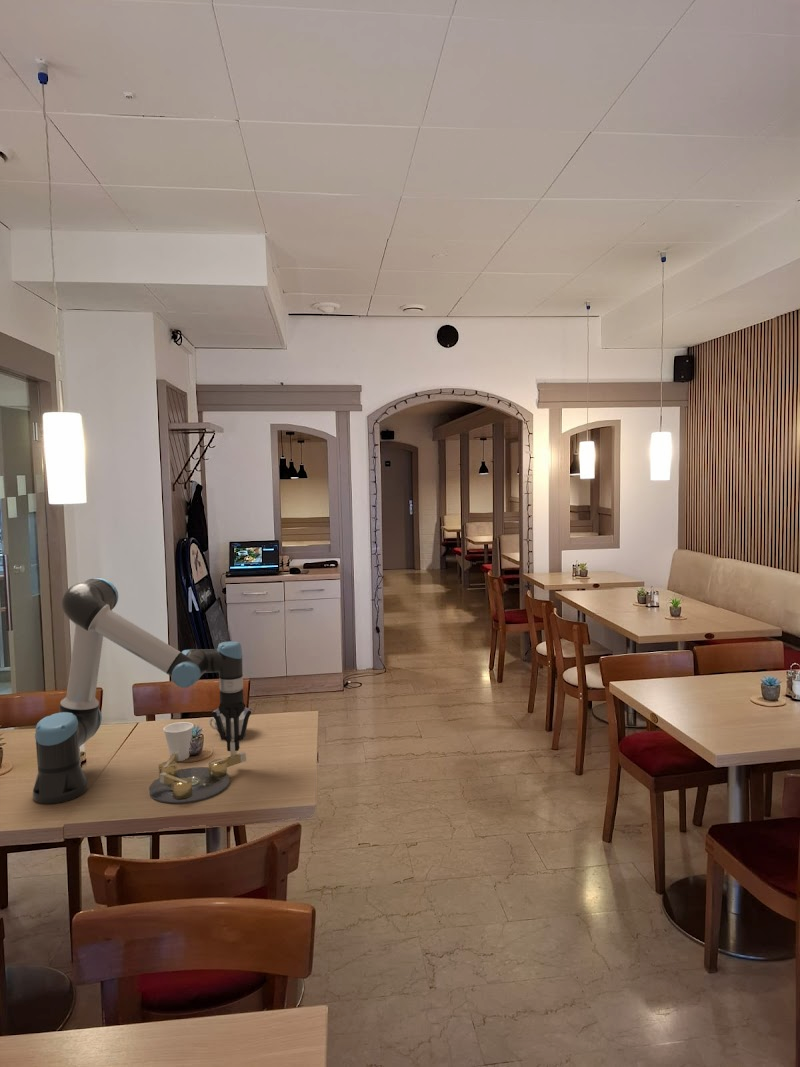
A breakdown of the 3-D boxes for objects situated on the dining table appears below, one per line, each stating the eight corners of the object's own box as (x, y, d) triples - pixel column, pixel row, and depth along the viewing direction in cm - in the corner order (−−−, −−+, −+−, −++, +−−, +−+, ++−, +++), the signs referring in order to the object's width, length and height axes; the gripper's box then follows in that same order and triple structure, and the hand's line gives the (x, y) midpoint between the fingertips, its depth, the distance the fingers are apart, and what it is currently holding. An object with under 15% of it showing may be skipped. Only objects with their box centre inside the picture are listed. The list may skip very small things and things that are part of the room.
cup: (186, 764, 236) (184, 732, 236) (159, 763, 238) (157, 731, 238) (200, 753, 246) (198, 722, 245) (174, 751, 248) (172, 721, 247)
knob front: (196, 793, 211) (195, 779, 211) (180, 800, 207) (179, 786, 206) (170, 783, 219) (169, 769, 219) (154, 790, 214) (153, 776, 214)
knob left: (175, 780, 221) (174, 766, 221) (156, 781, 221) (156, 767, 221) (185, 763, 234) (184, 750, 234) (168, 764, 234) (167, 751, 233)
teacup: (254, 731, 266) (254, 711, 265) (239, 744, 254) (238, 722, 253) (218, 729, 270) (217, 708, 269) (201, 741, 258) (200, 719, 257)
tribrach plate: (138, 805, 207) (138, 797, 207) (162, 771, 231) (161, 764, 231) (221, 801, 208) (220, 794, 208) (235, 768, 232) (235, 761, 232)
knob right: (215, 780, 221) (214, 766, 220) (205, 775, 225) (205, 761, 224) (249, 767, 230) (249, 754, 229) (240, 762, 234) (239, 750, 233)
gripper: (208, 693, 225) (211, 765, 227) (249, 692, 226) (251, 764, 228) (213, 686, 233) (216, 756, 235) (253, 685, 233) (255, 755, 235)
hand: (233, 760), depth 231 cm, fingers closed
